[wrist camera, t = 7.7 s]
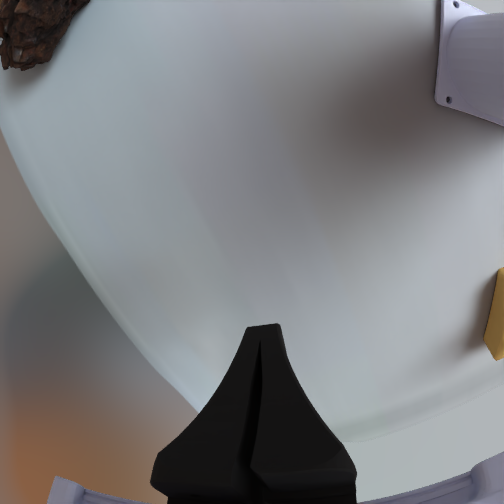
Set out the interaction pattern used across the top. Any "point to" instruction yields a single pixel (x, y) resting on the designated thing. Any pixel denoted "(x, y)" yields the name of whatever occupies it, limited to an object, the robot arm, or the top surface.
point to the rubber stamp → (496, 320)
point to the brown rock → (33, 30)
